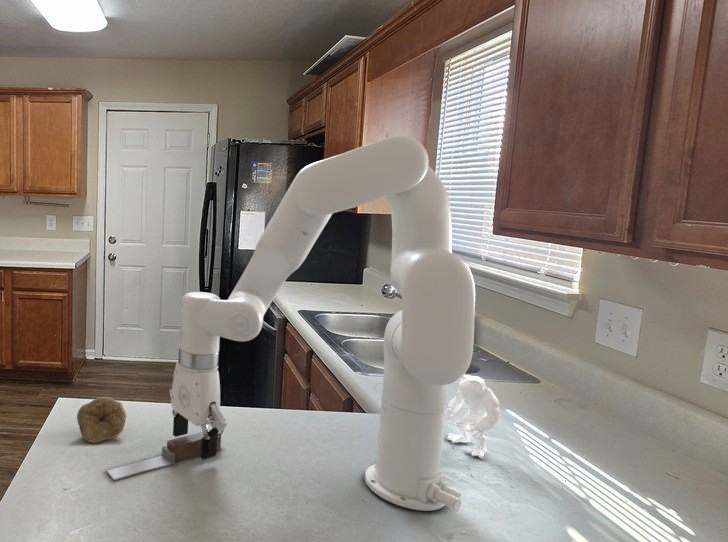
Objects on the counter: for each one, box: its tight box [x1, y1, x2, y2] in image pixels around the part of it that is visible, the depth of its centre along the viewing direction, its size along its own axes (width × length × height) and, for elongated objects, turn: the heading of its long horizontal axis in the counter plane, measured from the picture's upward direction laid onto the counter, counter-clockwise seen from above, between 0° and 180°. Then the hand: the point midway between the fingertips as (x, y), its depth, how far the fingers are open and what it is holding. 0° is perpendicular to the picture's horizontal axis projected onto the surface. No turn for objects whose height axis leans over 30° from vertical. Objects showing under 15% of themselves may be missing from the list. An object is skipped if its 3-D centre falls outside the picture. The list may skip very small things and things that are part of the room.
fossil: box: [76, 396, 127, 444], centre depth 102 cm, size 9×4×10 cm
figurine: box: [444, 373, 501, 459], centre depth 100 cm, size 11×7×15 cm, turn 7°
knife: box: [106, 429, 222, 481], centre depth 92 cm, size 23×3×3 cm, turn 120°
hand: (193, 445), depth 95 cm, fingers open, 8 cm apart
